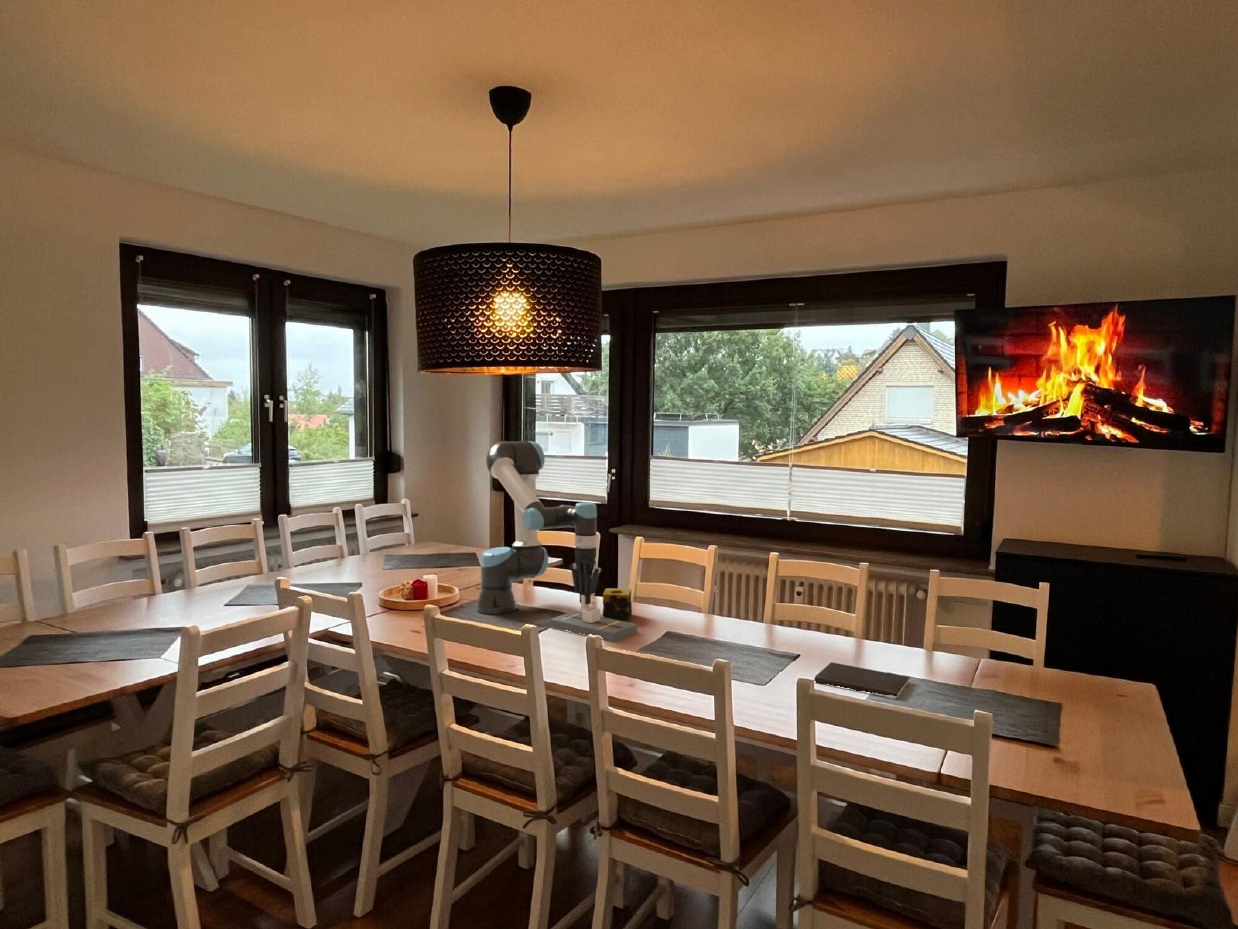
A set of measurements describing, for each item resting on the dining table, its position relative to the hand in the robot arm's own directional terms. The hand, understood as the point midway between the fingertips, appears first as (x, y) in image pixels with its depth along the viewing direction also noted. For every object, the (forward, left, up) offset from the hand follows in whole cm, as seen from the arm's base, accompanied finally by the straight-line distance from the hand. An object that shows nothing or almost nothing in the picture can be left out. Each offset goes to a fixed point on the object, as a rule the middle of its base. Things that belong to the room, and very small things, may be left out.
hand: (585, 612), depth 273 cm
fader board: (+4, 0, -6) cm, 7 cm away
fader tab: (+3, 0, -2) cm, 4 cm away
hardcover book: (+97, +6, -7) cm, 97 cm away
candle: (+1, +19, -6) cm, 20 cm away
